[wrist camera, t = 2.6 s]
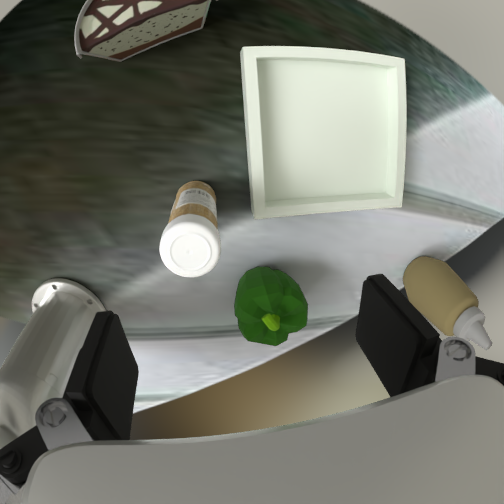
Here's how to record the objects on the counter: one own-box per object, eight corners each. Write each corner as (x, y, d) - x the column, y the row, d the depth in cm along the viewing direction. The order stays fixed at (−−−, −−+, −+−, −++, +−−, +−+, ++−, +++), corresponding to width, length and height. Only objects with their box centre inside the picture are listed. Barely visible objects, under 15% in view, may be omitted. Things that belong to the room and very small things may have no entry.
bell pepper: (297, 302, 42) (319, 352, 33) (238, 315, 42) (247, 369, 33) (291, 248, 38) (315, 292, 29) (225, 262, 38) (231, 311, 29)
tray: (389, 199, 37) (401, 207, 34) (251, 210, 36) (254, 219, 33) (390, 60, 29) (404, 58, 26) (240, 52, 27) (242, 46, 25)
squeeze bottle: (404, 303, 45) (465, 380, 29) (389, 269, 42) (461, 351, 26) (441, 275, 44) (509, 341, 28) (430, 238, 41) (511, 305, 25)
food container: (199, -19, 23) (196, -61, 14) (216, 24, 26) (219, -8, 17) (93, 24, 23) (55, 1, 14) (108, 68, 26) (70, 55, 17)
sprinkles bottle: (169, 207, 34) (149, 264, 22) (187, 172, 33) (174, 211, 21) (205, 225, 36) (203, 288, 24) (224, 191, 34) (232, 239, 22)
